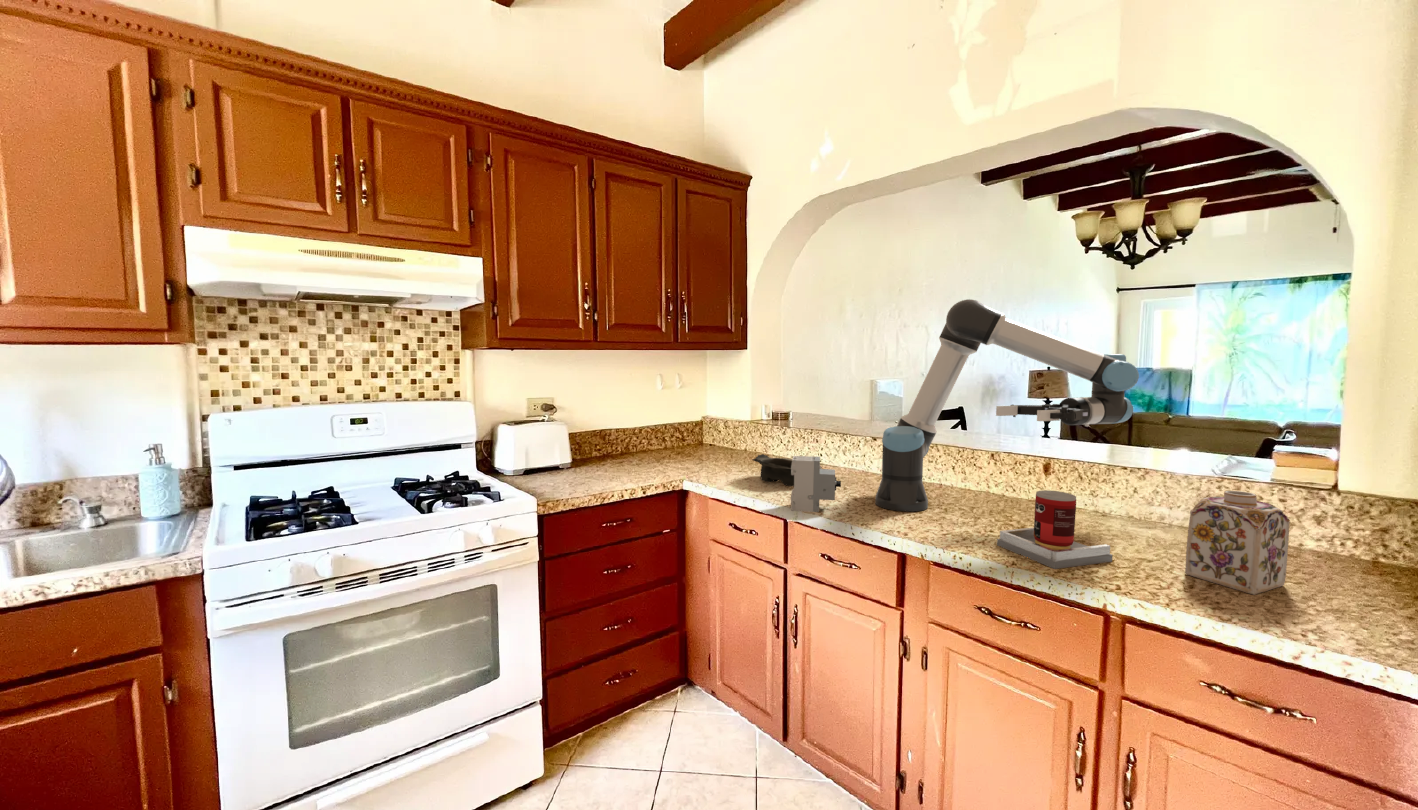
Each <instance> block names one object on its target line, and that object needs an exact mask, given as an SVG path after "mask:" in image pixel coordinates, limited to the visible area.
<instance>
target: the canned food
mask: <svg viewBox="0 0 1418 810" xmlns="http://www.w3.org/2000/svg"><path fill="white" fill-rule="evenodd" d="M1076 512H1077V496H1076V495H1074V494H1072V493H1069V492H1064V491H1059V490H1050V489H1049V490H1047V489H1046V490H1045V489H1044V490H1043V489H1042V490H1041V489H1040V490H1037V491H1036V493H1035V501H1034V518H1033V519H1034V522H1033V527H1034V538H1035V540H1037V541H1038V542H1041V543H1044V544H1048V545H1053V546H1062V547H1065V546H1071V545H1072V544H1073V542H1075V527H1076Z"/></svg>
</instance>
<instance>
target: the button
mask: <svg viewBox="0 0 1418 810" xmlns="http://www.w3.org/2000/svg"><path fill="white" fill-rule="evenodd" d="M1035 543H1037V544H1039V545H1042V546H1045V547H1047V548H1050V549H1052V550H1063V549H1071V546H1065V547H1062V546H1053V545H1048V544H1044V543H1041V542H1038V541H1037V540H1035Z"/></svg>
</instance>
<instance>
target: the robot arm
mask: <svg viewBox="0 0 1418 810" xmlns="http://www.w3.org/2000/svg"><path fill="white" fill-rule="evenodd" d="M938 339H939V342H940V344H941V345H940V347H939V349H938V351H937V353H936V355H935V357H934V359H933V361H932V363H931V365H930V368H929V370H928V371H927V373H926V376H925V379H924V381H923V382H922V384H921V386H920V389H919V391H918V393H917V394H916V397H915V399H914V401H913V403H912V406H911V407H910V409H909V411H908V413H907V414H905V415H902V416H901V417H900V419H899V420H898V423H897V425H896V426H892V427H891V426H890V427H888V428H885V429H884V431H883V432H882V433H883V434H882V438H881V441H882V442H881V443H882V460H881V461H882V462H881V463H882V466H881V480H880V483H879V486H878V489H877V491H876V494H875V500H874V501H875V502H874V503H875V505H876V506H877V507H880V508H883V509H886V510H891V511H899V512H918V511H919V512H921V511H925V510H927V509H928V507H929V499H928V496H927V492H926V488H925V486H924V482H923V474H924V465H923V464H924V458H925V456H927V455H928V453H929V450H930V446H931V445H932V443H933V440H934V439H935V436H936V434H937V429H936V427H935V425H936V423H937V420H938V419H939V417H940V414H941V412H942V411H943V409H944V407H945V405H946V403H947V400H949V399H948V398H949V396H950V394H951V392H952V390H953V389H954V386H955V384H956V382H957V380H958V379H959V376H960V374H961V372H962V370H963V368H964V366H965V364H966V362H967V359H968V358H969V356H970V355H972V354H975V353H977V352H978V350H979V348H980V345H981V344H982V345H985V346H990V345H992V344H993V345H996V346H999V347H1001V348H1004V349H1006V350H1009V351H1011V352H1014V353H1016V354H1019V355H1022V356H1024V357H1026V358H1029V359H1032V360H1034V361H1037V362H1040V363H1042V364H1045V365H1047V366H1050V367H1053V368H1056V369H1058V370H1061V371H1063V372H1065V373H1068V374H1070V375H1074V376H1076V377H1079V378H1082V379H1084V380H1086V381H1089V382H1091V383H1092V386H1091V396H1086V397H1085V396H1080V397H1067V398H1064V399H1063V400H1061V401H1060V403H1053V404H1041V405H1040V404H1039V405H1037V404H1034V405H1033V404H1032V405H1031V404H1029V405H1028V404H1010V405H996V408H995V409H996V411H995V414H996V415H995V416H996V417H1006V416H1008V417H1010V416H1012V417H1013V418H1016V416H1019V415H1025V416H1036V422H1052V421H1053V422H1054V421H1055V422H1056V421H1061V422H1062V423H1063V424H1065V425H1067V426H1082V425H1083V426H1084V427H1087V428H1088V427H1089V426H1090V425H1113V424H1119V423H1120V424H1121V423H1125V422H1126V421H1128V420H1129V419H1130V418H1131V417H1132V415H1133V412H1134V406H1133V405H1132V401H1131V400H1130V399H1129V398H1127V397H1125V391H1128V390H1130V389H1132V388H1134V386H1135V385H1136V384H1137V383H1138V382H1139V378H1140V376H1139V375H1140V373H1139V370H1138V369H1137V367H1136V366H1135V365H1133V363H1130V362H1129V361H1127V356H1126V355H1125V354H1123V353H1116V354H1115V353H1113V354H1112V353H1104V354H1103V353H1101V352H1098V351H1096V350H1093V349H1091V348H1088V347H1084V346H1083V345H1079V344H1077V343H1074V342H1071V341H1069V340H1066V339H1064V338H1060V337H1058V336H1056V335H1053V334H1050V333H1047V332H1045V331H1042V330H1040V329H1039V330H1038V329H1036V328H1034V327H1030V326H1029V325H1025V324H1023V323H1020V322H1017V321H1015V320H1012V319H1009V318H1007V317H1006V315H1005V313H1004V312H1002V311H999V310H997V309H994V308H992V307H990V306H987V305H986V304H984V303H983V302H981V301H978V300H976V299H970V298H969V299H962V300H959V301H958V302H956V303H954V304H953V305H952V306H951V307H950V309H948V311H947V315H946V318H945V324H944V326H943V329H942V331H941V333H940V335H939V337H938Z"/></svg>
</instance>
